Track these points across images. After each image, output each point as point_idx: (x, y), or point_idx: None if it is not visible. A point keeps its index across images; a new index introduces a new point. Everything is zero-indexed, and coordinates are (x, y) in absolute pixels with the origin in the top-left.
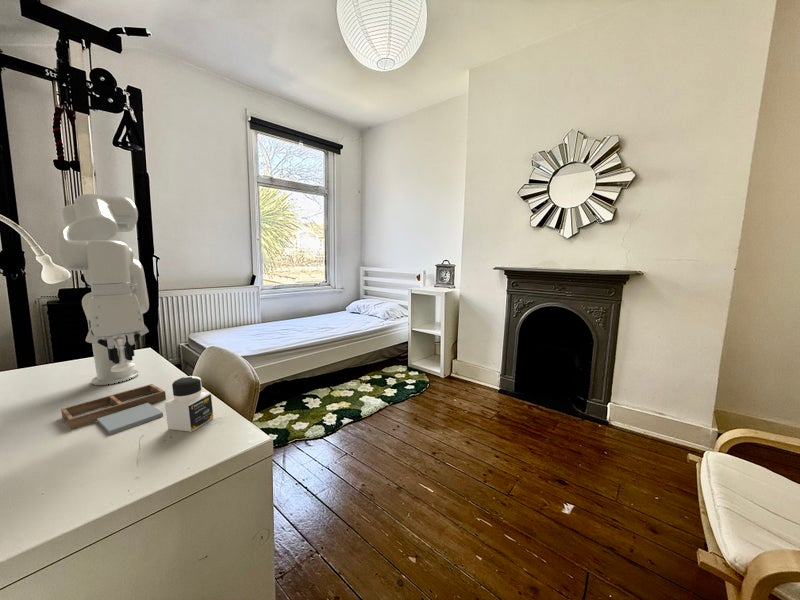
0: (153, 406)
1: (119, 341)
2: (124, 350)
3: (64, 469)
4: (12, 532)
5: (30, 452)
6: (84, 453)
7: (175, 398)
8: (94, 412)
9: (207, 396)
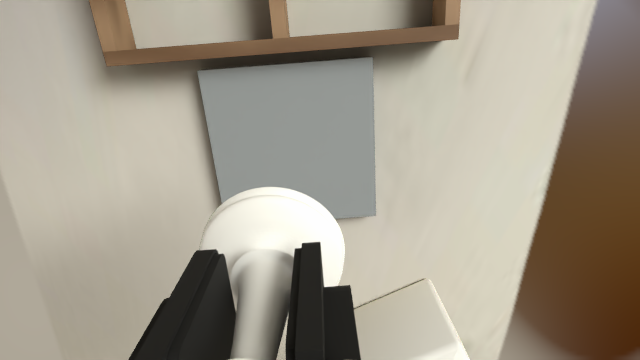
0: (373, 128)
1: None
2: (291, 303)
3: (139, 322)
4: None
5: (45, 159)
6: (172, 280)
7: None
8: (184, 59)
9: None
